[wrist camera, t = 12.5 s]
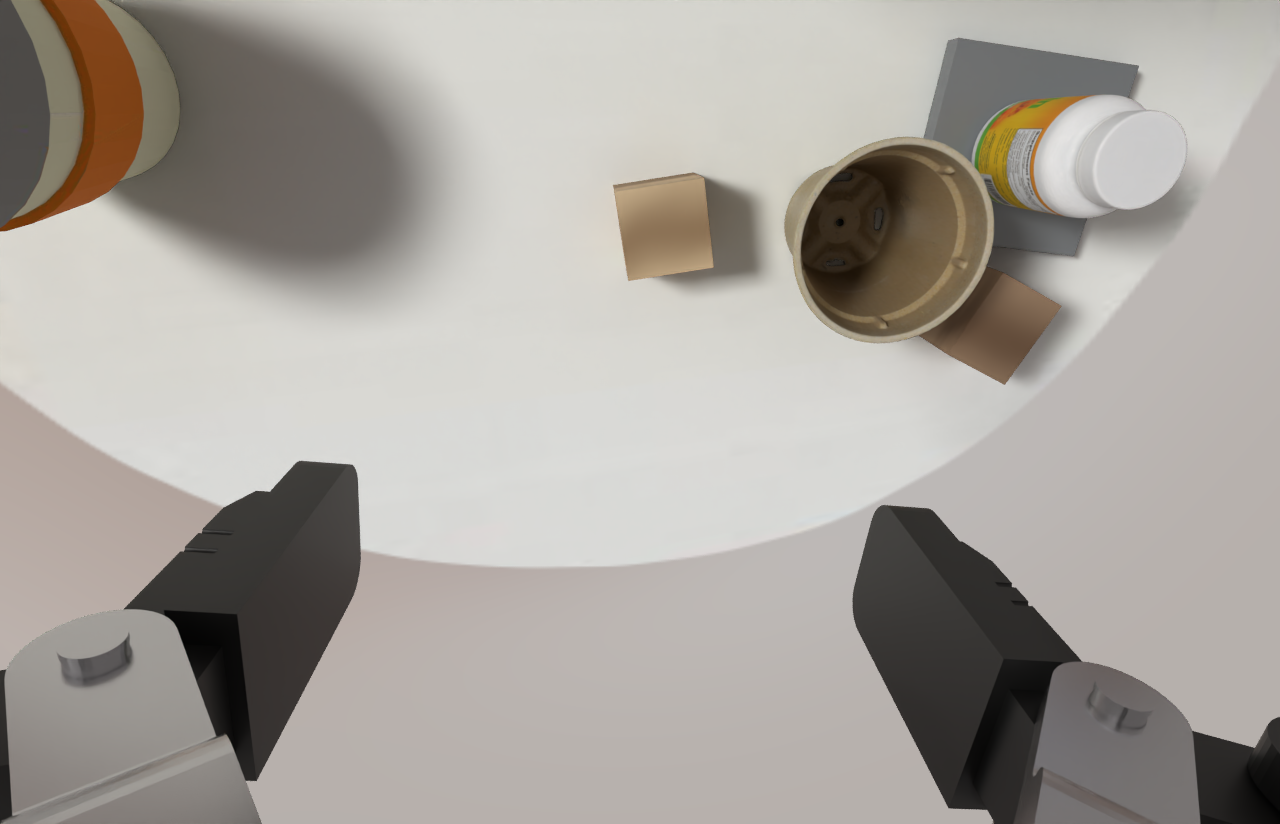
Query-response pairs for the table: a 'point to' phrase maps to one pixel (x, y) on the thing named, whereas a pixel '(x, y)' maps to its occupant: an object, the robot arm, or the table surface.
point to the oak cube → (664, 225)
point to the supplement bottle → (1079, 155)
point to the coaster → (1001, 77)
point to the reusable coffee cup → (77, 105)
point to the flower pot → (891, 238)
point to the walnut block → (994, 325)
